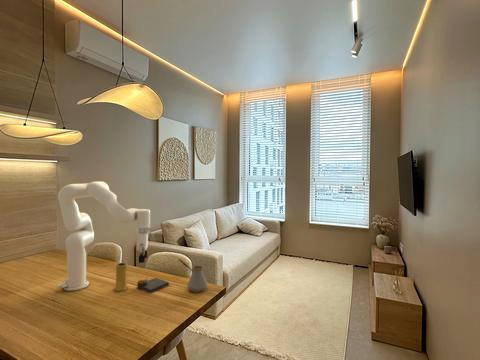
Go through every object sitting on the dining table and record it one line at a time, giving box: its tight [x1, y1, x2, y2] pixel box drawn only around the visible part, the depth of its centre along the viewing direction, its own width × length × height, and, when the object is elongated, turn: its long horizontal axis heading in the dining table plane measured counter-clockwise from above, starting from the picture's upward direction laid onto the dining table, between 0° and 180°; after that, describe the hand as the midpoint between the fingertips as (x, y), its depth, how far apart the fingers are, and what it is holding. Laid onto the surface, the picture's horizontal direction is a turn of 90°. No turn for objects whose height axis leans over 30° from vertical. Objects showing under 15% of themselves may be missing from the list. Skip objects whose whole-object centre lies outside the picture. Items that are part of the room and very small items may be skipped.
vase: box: [114, 262, 128, 292], centre depth 151 cm, size 6×6×14 cm
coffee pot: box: [177, 258, 208, 293], centre depth 155 cm, size 21×12×15 cm, turn 57°
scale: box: [137, 277, 170, 294], centre depth 155 cm, size 14×13×4 cm
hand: (142, 260), depth 154 cm, fingers open, 8 cm apart
